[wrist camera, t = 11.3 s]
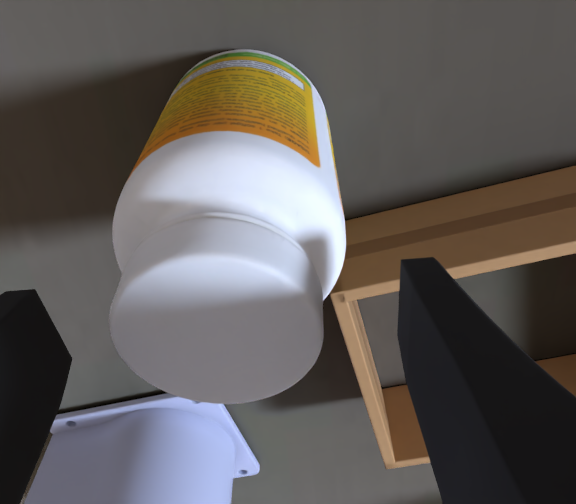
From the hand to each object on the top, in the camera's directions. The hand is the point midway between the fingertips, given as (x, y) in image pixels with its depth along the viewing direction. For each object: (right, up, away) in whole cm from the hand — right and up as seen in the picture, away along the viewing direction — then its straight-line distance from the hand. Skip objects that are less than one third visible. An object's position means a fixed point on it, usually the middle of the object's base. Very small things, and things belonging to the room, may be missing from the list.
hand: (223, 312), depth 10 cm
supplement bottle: (0, +6, +7) cm, 9 cm away
